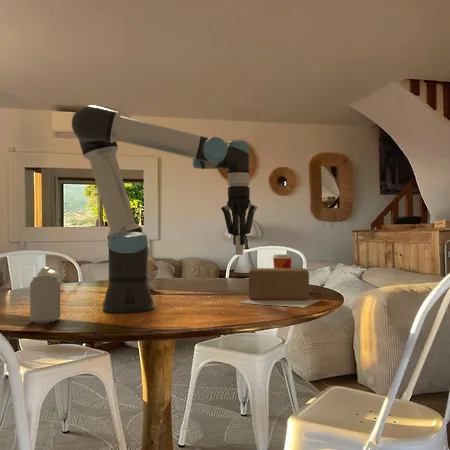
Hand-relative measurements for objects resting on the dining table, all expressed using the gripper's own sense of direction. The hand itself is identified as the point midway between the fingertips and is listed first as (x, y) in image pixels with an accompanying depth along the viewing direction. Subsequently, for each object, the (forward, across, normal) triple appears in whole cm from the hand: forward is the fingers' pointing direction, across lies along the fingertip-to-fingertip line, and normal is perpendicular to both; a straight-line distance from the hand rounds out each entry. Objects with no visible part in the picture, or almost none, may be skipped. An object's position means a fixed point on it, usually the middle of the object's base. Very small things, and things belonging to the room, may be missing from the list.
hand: (239, 254), depth 163 cm
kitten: (+16, +45, -5) cm, 48 cm away
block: (+10, -2, -2) cm, 11 cm away
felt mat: (+15, -15, 0) cm, 22 cm away
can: (+16, +28, +58) cm, 66 cm away
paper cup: (+16, -3, -31) cm, 35 cm away
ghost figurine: (+16, +79, +14) cm, 82 cm away
